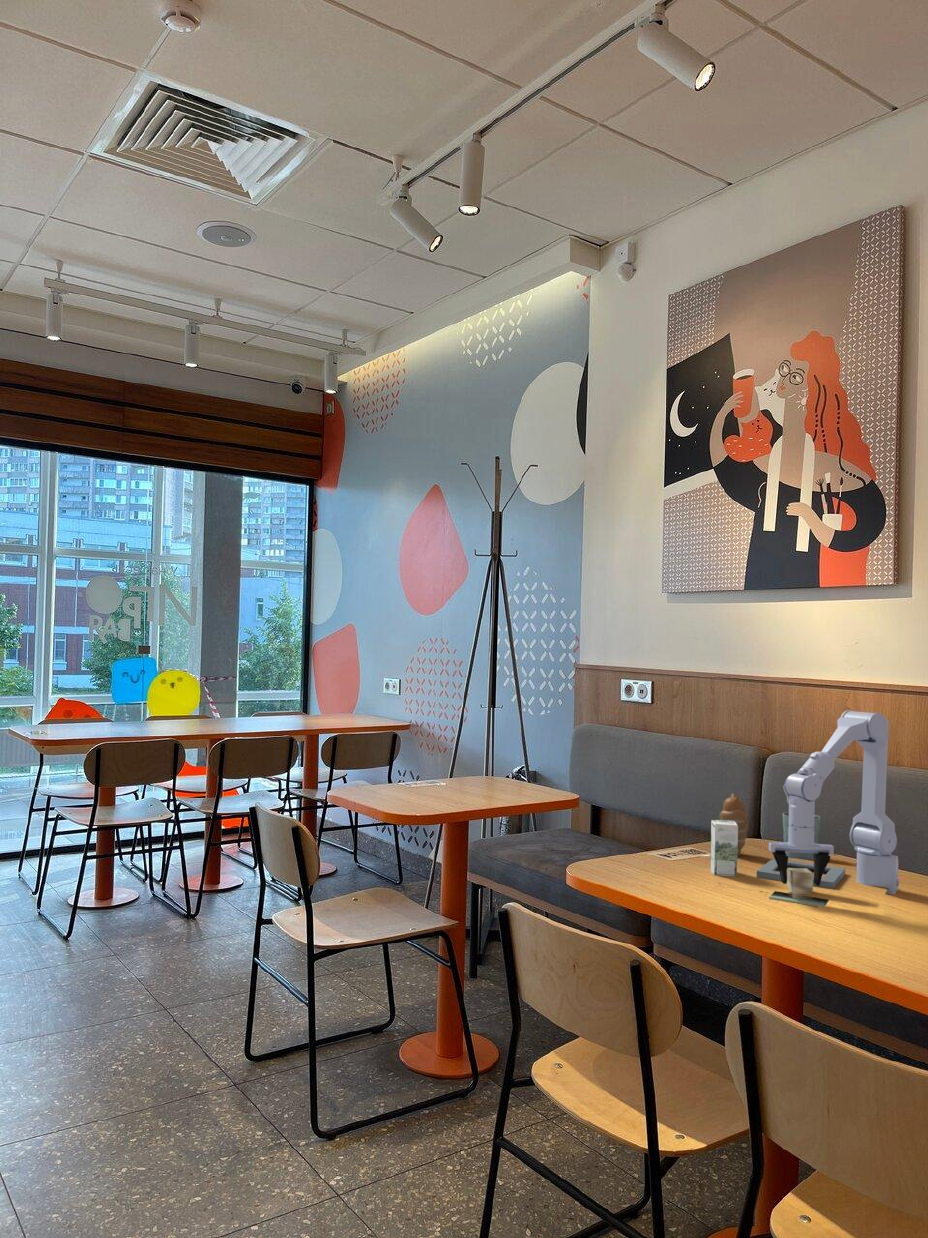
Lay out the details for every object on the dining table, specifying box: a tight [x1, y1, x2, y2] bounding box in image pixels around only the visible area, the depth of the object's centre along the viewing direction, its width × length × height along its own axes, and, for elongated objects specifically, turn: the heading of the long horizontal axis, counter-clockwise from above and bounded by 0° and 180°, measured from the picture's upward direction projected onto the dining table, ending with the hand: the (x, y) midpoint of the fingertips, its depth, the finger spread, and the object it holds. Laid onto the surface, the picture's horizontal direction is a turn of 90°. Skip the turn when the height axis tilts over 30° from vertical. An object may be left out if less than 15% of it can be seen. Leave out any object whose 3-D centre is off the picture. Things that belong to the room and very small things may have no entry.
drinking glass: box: [781, 811, 821, 861], centre depth 259 cm, size 10×10×12 cm
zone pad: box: [768, 890, 830, 908], centre depth 214 cm, size 12×10×1 cm
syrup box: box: [709, 819, 738, 877], centre depth 230 cm, size 6×6×14 cm
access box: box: [756, 857, 846, 890], centre depth 230 cm, size 18×18×3 cm
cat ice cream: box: [719, 792, 749, 857], centre depth 253 cm, size 9×8×18 cm
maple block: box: [786, 867, 814, 899], centre depth 214 cm, size 4×4×6 cm
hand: (800, 883), depth 214 cm, fingers open, 7 cm apart
